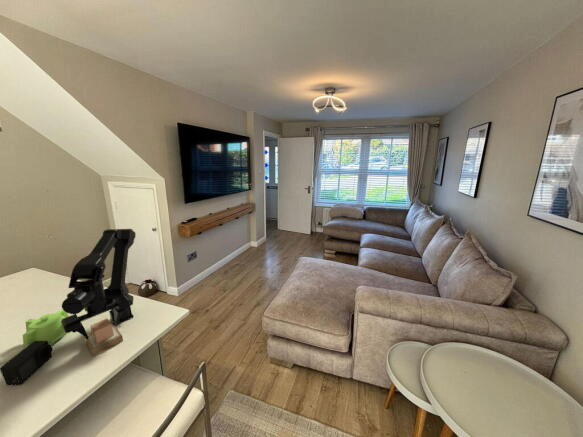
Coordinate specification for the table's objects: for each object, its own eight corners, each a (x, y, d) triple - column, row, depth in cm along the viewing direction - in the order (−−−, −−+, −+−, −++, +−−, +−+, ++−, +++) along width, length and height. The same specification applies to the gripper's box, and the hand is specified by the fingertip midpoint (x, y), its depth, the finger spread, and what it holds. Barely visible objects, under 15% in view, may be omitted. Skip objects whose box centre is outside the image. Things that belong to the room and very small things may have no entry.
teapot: (26, 357, 81) (18, 334, 79) (28, 338, 89) (21, 316, 86) (72, 339, 89) (67, 317, 86) (71, 323, 97) (65, 303, 94)
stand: (114, 329, 95) (113, 324, 94) (123, 340, 90) (122, 334, 89) (86, 343, 88) (84, 337, 87) (93, 355, 83) (91, 349, 82)
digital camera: (25, 385, 72) (18, 367, 70) (6, 385, 72) (-1, 367, 70) (56, 357, 82) (51, 340, 80) (39, 357, 82) (34, 340, 80)
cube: (113, 335, 88) (111, 324, 87) (97, 343, 85) (94, 331, 83) (109, 329, 91) (106, 318, 90) (93, 336, 88) (90, 325, 86)
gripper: (117, 277, 95) (123, 310, 99) (52, 298, 81) (63, 336, 85) (128, 287, 89) (134, 322, 93) (60, 312, 74) (71, 352, 79)
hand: (102, 331), depth 88 cm, fingers open, 8 cm apart
